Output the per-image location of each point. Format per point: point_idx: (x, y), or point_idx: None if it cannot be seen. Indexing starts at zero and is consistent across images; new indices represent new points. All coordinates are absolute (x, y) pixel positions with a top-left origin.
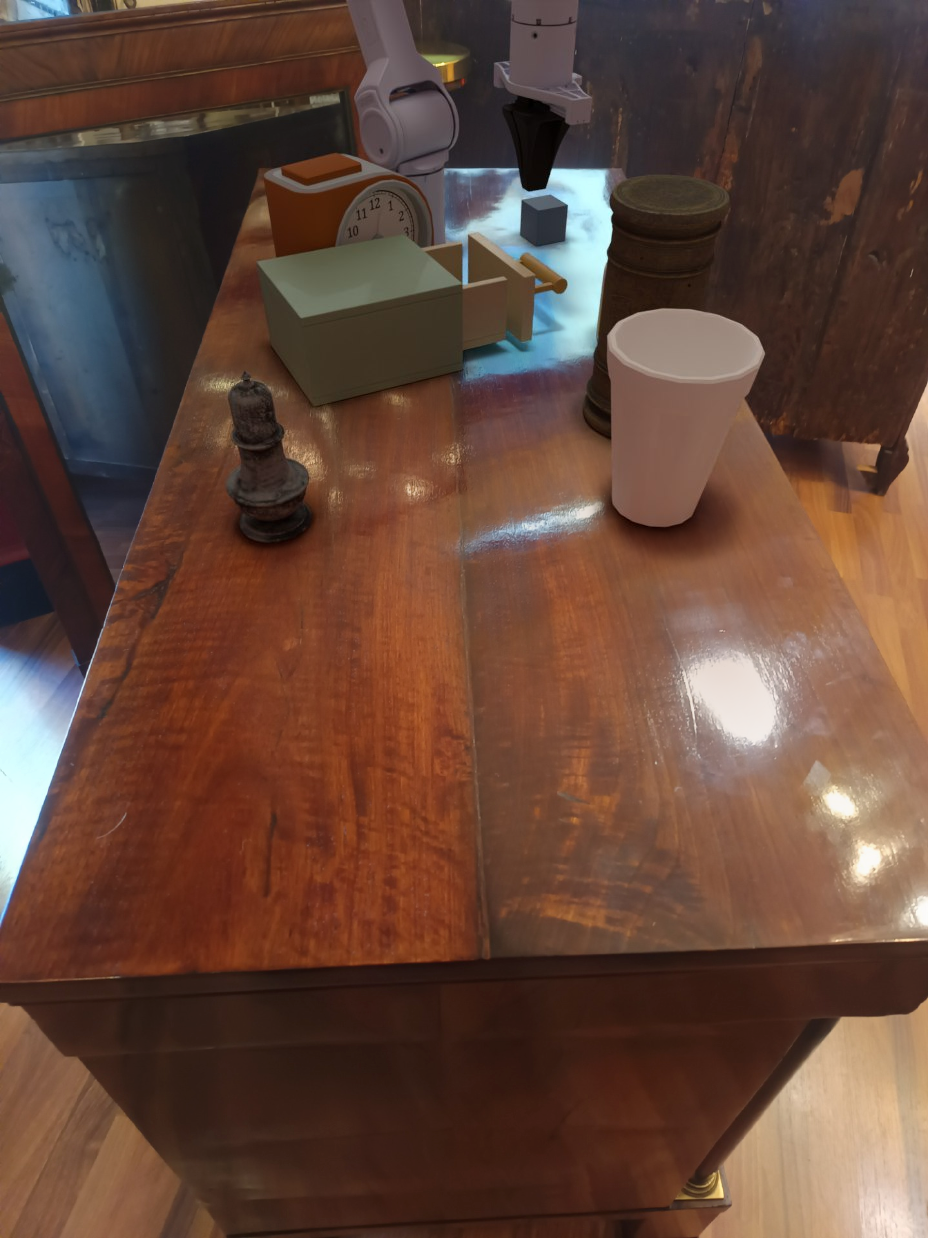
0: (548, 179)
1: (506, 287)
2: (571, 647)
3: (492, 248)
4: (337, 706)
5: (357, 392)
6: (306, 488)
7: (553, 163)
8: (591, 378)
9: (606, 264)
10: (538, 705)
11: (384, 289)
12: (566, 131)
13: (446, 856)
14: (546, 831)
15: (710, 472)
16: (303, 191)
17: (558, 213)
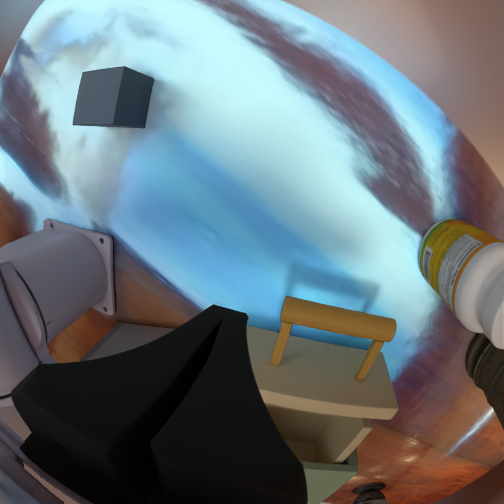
0: (246, 323)
1: (371, 421)
2: (497, 438)
3: (293, 404)
4: (441, 483)
5: None
6: (381, 495)
7: (246, 345)
8: (478, 382)
9: (466, 325)
10: (492, 450)
11: (309, 496)
12: (278, 430)
13: (481, 470)
14: (500, 456)
15: None
16: None
17: (127, 85)
